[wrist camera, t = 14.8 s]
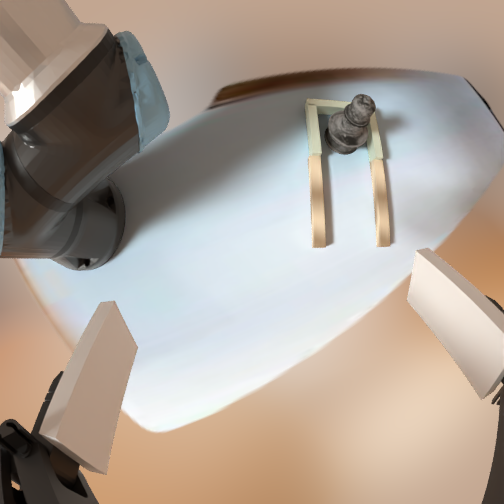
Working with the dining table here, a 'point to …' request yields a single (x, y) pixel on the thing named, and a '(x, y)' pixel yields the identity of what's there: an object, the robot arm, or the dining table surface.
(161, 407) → the dining table surface
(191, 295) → the dining table surface
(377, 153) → the socket
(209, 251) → the dining table surface
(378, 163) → the channel
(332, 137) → the dark stone chess piece
